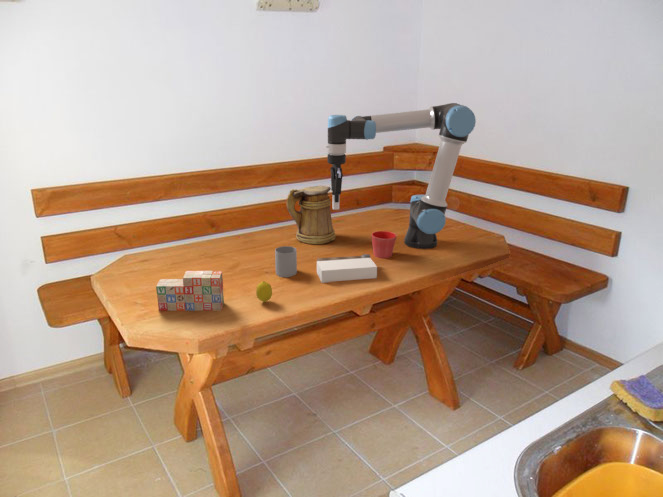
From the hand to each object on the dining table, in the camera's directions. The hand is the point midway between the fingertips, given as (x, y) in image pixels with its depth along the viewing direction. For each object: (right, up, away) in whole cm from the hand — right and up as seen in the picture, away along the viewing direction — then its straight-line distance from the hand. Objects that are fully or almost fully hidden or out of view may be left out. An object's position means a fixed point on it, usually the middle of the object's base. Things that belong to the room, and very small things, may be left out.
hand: (335, 208), depth 228 cm
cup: (-20, -27, -14) cm, 36 cm away
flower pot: (+21, -20, +6) cm, 29 cm away
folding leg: (+3, -25, -9) cm, 26 cm away
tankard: (-11, -13, +25) cm, 30 cm away
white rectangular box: (+4, -28, -16) cm, 32 cm away
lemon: (-25, -36, -39) cm, 59 cm away
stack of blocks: (-50, -37, -43) cm, 76 cm away
